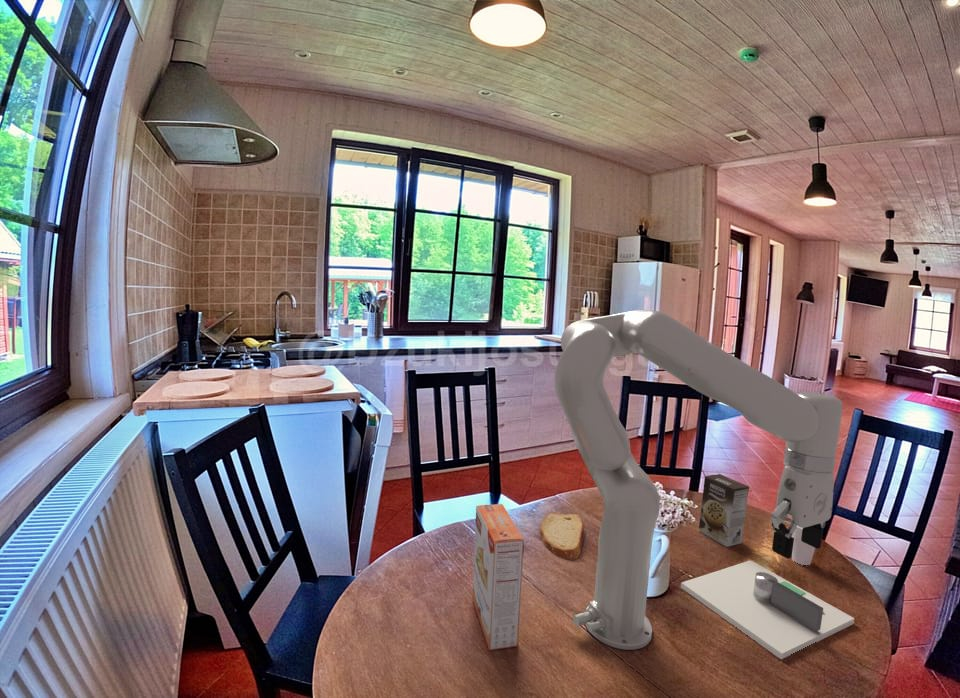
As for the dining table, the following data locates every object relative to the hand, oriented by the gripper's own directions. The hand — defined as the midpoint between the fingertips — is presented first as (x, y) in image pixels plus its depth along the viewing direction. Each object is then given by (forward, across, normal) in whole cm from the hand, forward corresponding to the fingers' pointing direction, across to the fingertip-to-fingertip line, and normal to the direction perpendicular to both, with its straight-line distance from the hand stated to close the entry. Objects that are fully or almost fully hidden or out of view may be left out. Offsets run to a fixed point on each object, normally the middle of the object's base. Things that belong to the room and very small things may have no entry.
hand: (796, 549), depth 86 cm
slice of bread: (+19, -17, +47) cm, 53 cm away
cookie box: (+18, +23, +31) cm, 43 cm away
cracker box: (+18, -50, +25) cm, 59 cm away
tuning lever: (+16, +6, +4) cm, 18 cm away
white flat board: (+18, +6, +8) cm, 21 cm away
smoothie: (+18, +32, +15) cm, 40 cm away
